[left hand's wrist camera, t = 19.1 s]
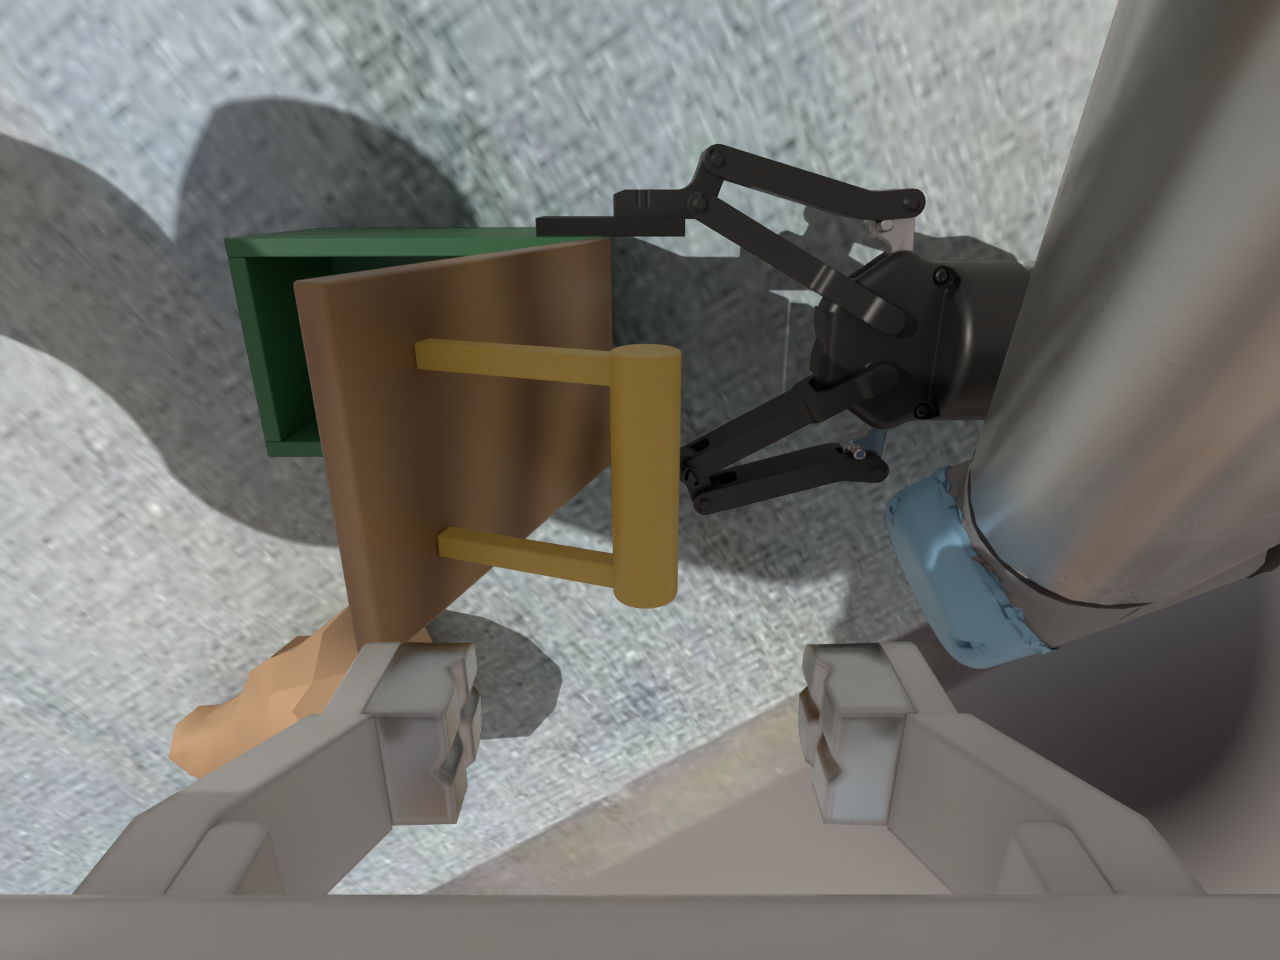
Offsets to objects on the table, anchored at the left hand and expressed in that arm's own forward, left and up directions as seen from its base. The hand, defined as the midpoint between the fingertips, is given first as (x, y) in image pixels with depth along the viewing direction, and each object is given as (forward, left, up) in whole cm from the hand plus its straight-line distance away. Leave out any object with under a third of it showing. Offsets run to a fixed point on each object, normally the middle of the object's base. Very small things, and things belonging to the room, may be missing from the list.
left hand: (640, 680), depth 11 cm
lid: (-5, +1, -15) cm, 16 cm away
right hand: (-4, +1, -26) cm, 26 cm away
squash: (-26, -21, -33) cm, 47 cm away
